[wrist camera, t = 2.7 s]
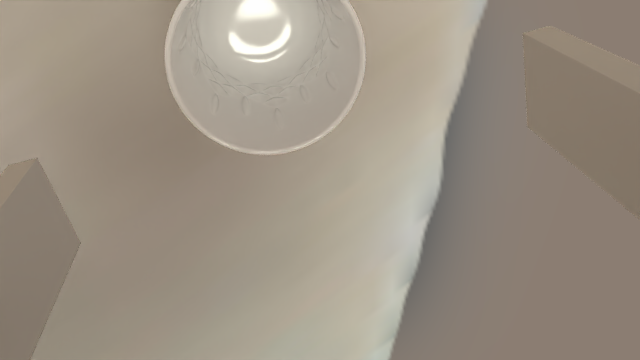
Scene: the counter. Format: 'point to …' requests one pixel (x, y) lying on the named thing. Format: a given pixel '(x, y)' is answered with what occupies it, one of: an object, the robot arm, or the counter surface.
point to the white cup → (265, 70)
